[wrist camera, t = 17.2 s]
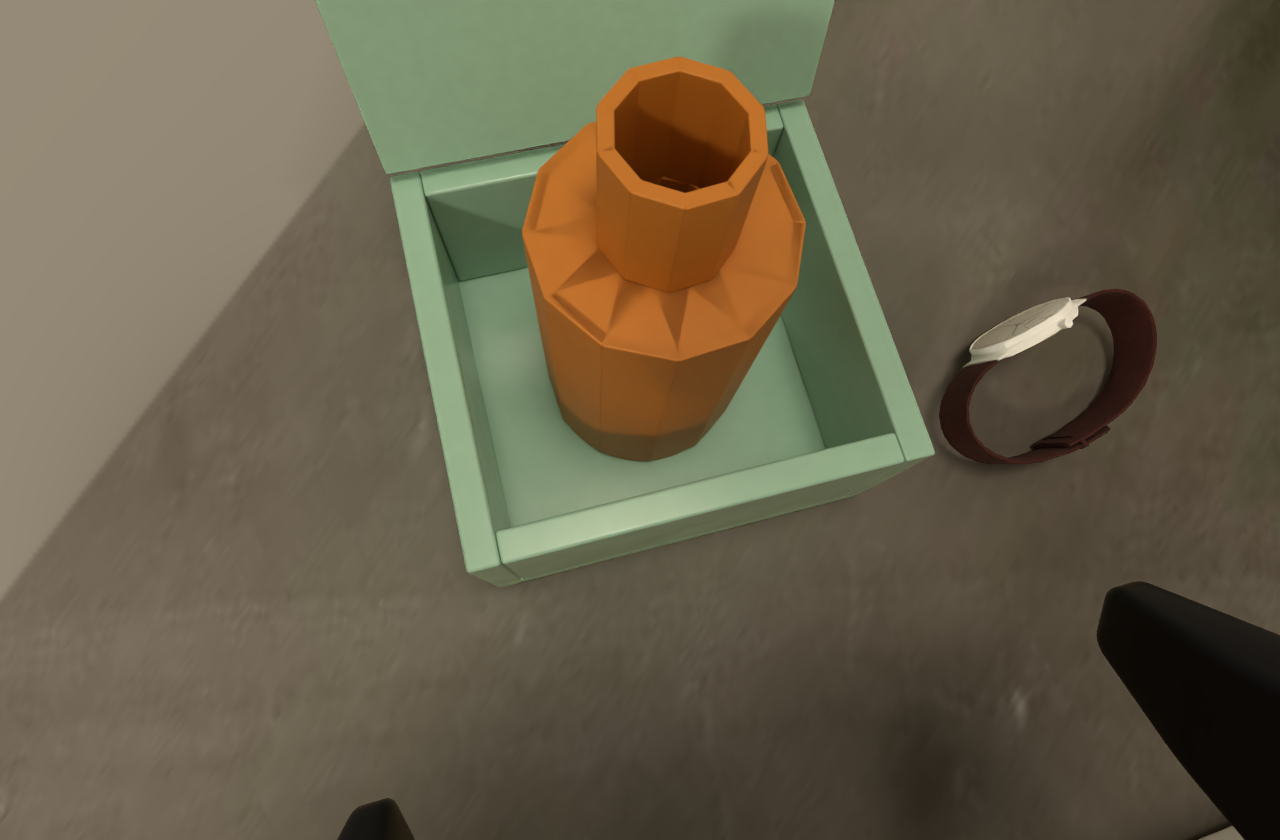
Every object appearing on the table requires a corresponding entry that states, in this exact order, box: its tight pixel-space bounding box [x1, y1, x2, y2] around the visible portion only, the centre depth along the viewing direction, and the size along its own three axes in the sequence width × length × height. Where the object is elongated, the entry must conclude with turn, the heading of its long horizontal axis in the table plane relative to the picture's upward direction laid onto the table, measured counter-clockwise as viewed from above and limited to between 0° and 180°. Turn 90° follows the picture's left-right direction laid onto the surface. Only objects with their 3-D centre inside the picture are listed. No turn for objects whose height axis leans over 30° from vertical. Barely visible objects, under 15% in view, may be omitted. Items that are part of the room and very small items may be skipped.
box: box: [390, 99, 935, 588], centre depth 22 cm, size 11×12×6 cm
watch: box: [939, 289, 1157, 464], centre depth 23 cm, size 8×5×4 cm, turn 124°
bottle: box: [522, 57, 806, 461], centre depth 18 cm, size 6×6×12 cm
